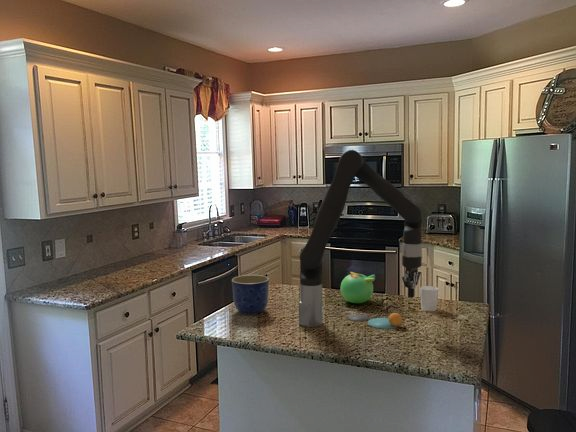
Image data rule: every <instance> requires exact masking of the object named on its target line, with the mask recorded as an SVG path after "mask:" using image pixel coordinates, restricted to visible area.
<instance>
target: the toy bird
mask: <svg viewBox="0 0 576 432" xmlns="http://www.w3.org/2000/svg"><path fill="white" fill-rule="evenodd" d="M349 272H350V274H348V275H346V276H345V277H344V278H343V279H342V281H341V283H340V293H341V294H340V295H341V296H342V297H343V298H344V300H345V301H347V302H349V303H352V304H363V303H366V302H367V301H369V300H370V299H371V297H372V296H373V293H374V284H373V282H374V281H376V275H375V274H371V275H368V276H367V275H364V274H362V273H356V272H353V271H349Z"/></svg>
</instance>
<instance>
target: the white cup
mask: <svg viewBox="0 0 576 432" xmlns="http://www.w3.org/2000/svg"><path fill="white" fill-rule="evenodd" d="M419 289H420V290H419V292H420V293H419V294H420V309H421V310H422V311H424V312H436V311H437V310H438V309H437V308H438V300H439V299H438V298H439V287H437V286H432V285H422V286H420V287H419Z"/></svg>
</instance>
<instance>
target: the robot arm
mask: <svg viewBox="0 0 576 432" xmlns="http://www.w3.org/2000/svg"><path fill="white" fill-rule="evenodd" d="M354 178H357V179H358V180H360V181H362V182H363V183H364V184H365V185H366V186H367V187H369V188H370V189H371V190H372V191H373V192H374V193H375V195H377V196H378V197H379V198H380V199H381V200H382V201H384V202H385V203H386V204H387V205H388V206H389V207H391V208H392V209H394V211H396V212H397V214H398V215H399V216H400V217H401V218H403V220H404V223H403V224H404V229H403V233H402V241H403V242H402V248H401V249H402V250H401V251H402V252H401V266H402V267H403V268H405V271H404V276H402V277H401V279H402V282H403V285H404V287H405V288H407V297H408V298H411V299H414V297H415V295H416V293H415V292H416V291H415V289H416V286H418V283H419V280H420V276H421V271H419V268H421V267H422V265H423V263H422V258H423V257H422V256H423V254H422V252H423V249H422V248H423V247H422V225H423V224H422V223H423V222H422V221H423V209H422V208H421V206H420V205H418V204H416V203H414V202H413V201H412V200H410V199H408V198H407V197H406V195H405V194H404V193H403V192H402V191H401V190H400V189H399V188H398V187H396V186H395V185H394V184H392V183H391V182H390V181H389V180H387V179H386V178H384V177H383V176H382V175H380V174H379V173H378V172H376V171H375V170H374V169H373V168H372V167H371V166H370V164H368V163H367V161H366V160H365V159H364V157H363V156H362V154H361V153H359V152H358V151H357V150H355V149H348V150H346V151H344V152H343V153H342V154H341V155H340V157H339V160H338V163H337V167H336V171H335V173H334V176H333V179H332V181H331V184H330V185H329V186H328V189H327V191H326V193H325V195H324V198H323V199H322V202H321V203H320V206H319V209H318V211H317V214H316V216H315V220H314V223H313V228H312V231H311V233H310V236H309V238H308V240H307V242H306V244H305V246H303V247H302V248H301V249H300V250H301V251H300V253H299V261H300V262H299V264H300V265H299V267H300V268H299V271H300V272H299V280H300V281H299V287H300V288H299V295H300V296H299V300H300V301H299V302H298V325H301V326H304V327H307V328H312V327H313V328H315V327H319V326H322V324H323V258H324V254H325V250H326V248H327V244H328V241H329V239H330V238H331V236H332V234H333V232H334V231H335V229H336V227H337V225H338V222H339V221H340V219H341V216H342V214H343V211H344V209H345V206H346V204H347V203H346V202H347V199H348V194H349V190H350V187H351V185H352V182H353V181H354Z"/></svg>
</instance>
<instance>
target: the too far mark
mask: <svg viewBox="0 0 576 432" xmlns="http://www.w3.org/2000/svg"><path fill="white" fill-rule="evenodd" d="M347 319H348V320H349V321H352V322H360V323H362V322H366V321H367V322H368V321H369V320H370V317H369V316H367V315H364V314H351V315H348V316H347Z"/></svg>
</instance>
